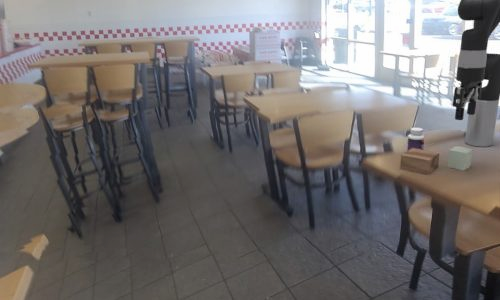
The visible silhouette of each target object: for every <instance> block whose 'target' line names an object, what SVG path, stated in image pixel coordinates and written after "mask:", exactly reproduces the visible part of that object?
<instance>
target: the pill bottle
mask: <svg viewBox="0 0 500 300" xmlns="http://www.w3.org/2000/svg"><path fill="white" fill-rule="evenodd" d="M409 132H410V133H409V134H408V135H407V142H406V143H407V145H406V147H407V148H406V152H407V151H408V150H410V149H411V148H416V149H421V150H424V145H425V135H424V134H423V133H424V129H423V128H421V127H411V128H410V131H409Z"/></svg>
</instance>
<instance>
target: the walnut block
mask: <svg viewBox="0 0 500 300" xmlns="http://www.w3.org/2000/svg"><path fill="white" fill-rule="evenodd" d="M439 160H440V152H438V151H437V152H436V151H431V150H426V149H423V150H421V149H416V148H411V149H410V150H408V151H407V150H406V151H405V152H404V153H402V154H401V155H400V165H399V169H401V170H405V171H408V172H409V171H410V172H414V173H417V174H422V175H429V174H431V173H432V172H433V171H434V170H435V169H436V168H438V167H439V163H440V162H439Z"/></svg>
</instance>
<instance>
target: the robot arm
mask: <svg viewBox="0 0 500 300" xmlns="http://www.w3.org/2000/svg"><path fill="white" fill-rule="evenodd" d="M457 15H458V18H459V19H460V20H462V21H468V22H469V21H473V28H469V29H465V30H464V31H463V32H462V34H461V42H460V47H459V48H460V51H459V55H458V60H457V65H456V75H455V79H456V81H457V82H460V86H455V87H454V91H453V93H454V94H453V99H452V107H455V114H454V115H455V116H454V119H455V120H456V121H462V120H464V115H465V108H466V105H467V109H466V114H467V115H468V116H467V124H466V130H465V131H466V132H465V136H464V137H465V138H464V143H465V144H466V145H469V146H474V147H480V148H481V147H483V148H485V147H491V146H492V145H493V144H494V136H495V132H496V126H497V125H496V123H497V119H498V118H497V116H498V110H499V102H500V53H488V52H487V51H488V50H487V49H488V44H489V38H490V36H491V35H492V34H493V32H494V31H495V29H496V28H497V27H498V25H499V24H500V0H460V1H459V4H458V7H457ZM483 81H487V83H486V85H485V86H483Z"/></svg>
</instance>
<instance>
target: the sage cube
mask: <svg viewBox="0 0 500 300" xmlns="http://www.w3.org/2000/svg"><path fill="white" fill-rule="evenodd" d="M472 155H473V148H469V147H463V146H460V145H459V146H457V145H456V146H453V148H450V149H449V153H448V164H447V167H448V168H452V169H456V170H460V171H463V172H464V171H465V170H467V169H469V168H470V167H471V165H472Z"/></svg>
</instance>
